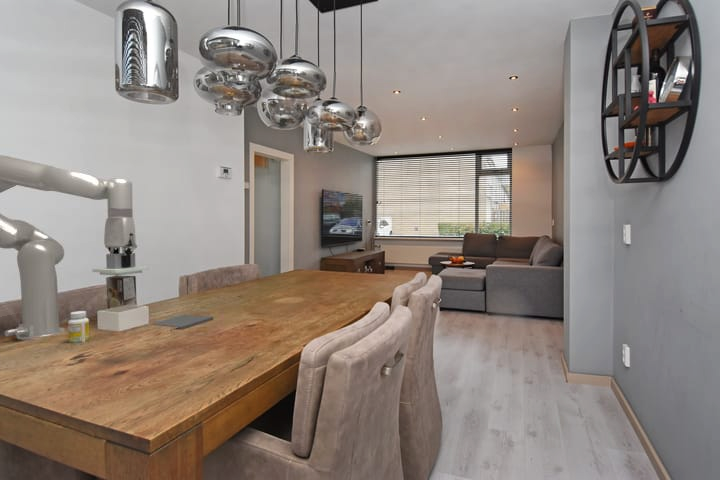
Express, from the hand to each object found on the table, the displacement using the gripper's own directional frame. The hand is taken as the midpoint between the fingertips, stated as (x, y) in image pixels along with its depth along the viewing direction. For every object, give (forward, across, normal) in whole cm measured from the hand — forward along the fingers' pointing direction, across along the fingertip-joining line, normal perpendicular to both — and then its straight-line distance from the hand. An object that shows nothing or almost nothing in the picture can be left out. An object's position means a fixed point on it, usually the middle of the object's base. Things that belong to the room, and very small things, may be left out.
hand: (121, 266), depth 143 cm
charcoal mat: (+22, +14, +13) cm, 29 cm away
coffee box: (+22, -18, +14) cm, 32 cm away
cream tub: (+22, 0, 0) cm, 22 cm away
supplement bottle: (+22, +3, -18) cm, 29 cm away
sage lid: (+3, 0, 0) cm, 3 cm away
